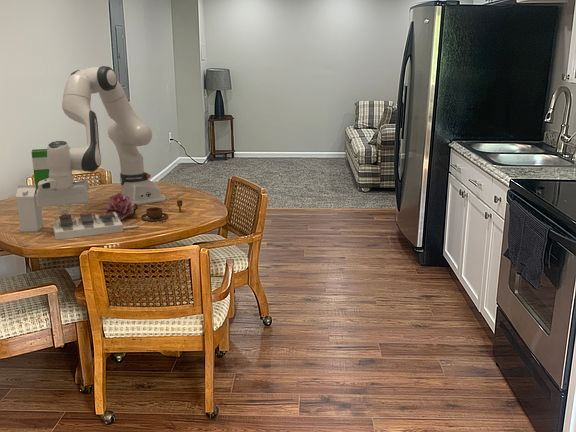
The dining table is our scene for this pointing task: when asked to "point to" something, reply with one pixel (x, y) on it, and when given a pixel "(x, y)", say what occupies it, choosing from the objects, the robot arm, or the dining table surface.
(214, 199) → the dining table surface
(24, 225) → the milk carton
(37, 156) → the hardback book
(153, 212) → the place setting
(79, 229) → the power strip
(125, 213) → the flower
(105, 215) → the rocker near arm
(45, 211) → the dining table surface
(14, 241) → the dining table surface
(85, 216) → the rocker middle
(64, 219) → the rocker far end
